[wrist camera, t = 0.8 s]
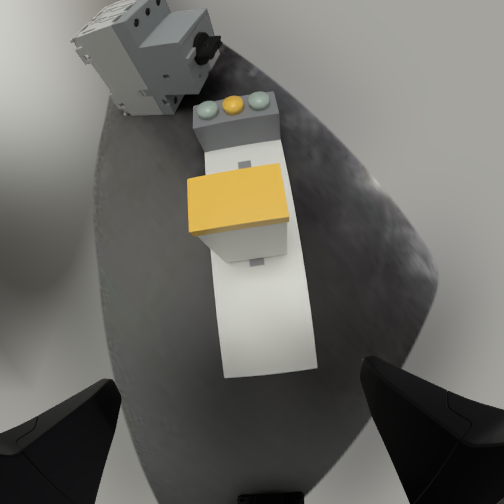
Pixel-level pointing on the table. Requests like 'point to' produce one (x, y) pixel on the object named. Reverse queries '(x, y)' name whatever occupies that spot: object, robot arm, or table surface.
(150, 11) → the circuit breaker
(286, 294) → the long white slab
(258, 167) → the handle
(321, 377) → the table surface
